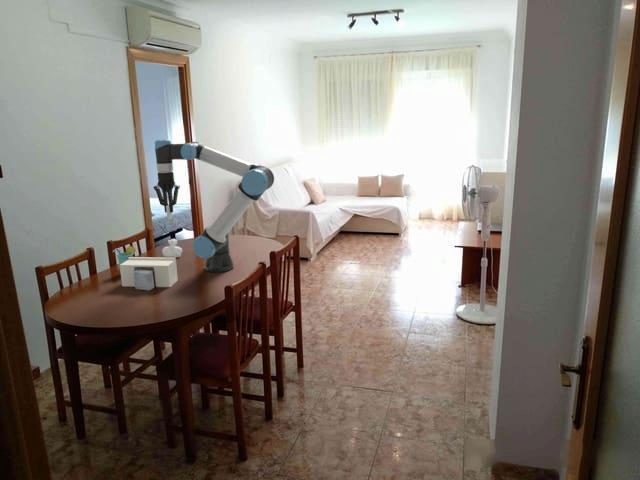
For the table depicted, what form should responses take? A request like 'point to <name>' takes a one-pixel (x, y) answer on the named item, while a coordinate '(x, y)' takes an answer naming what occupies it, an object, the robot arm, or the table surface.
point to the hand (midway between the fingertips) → (169, 218)
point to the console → (161, 270)
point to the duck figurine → (172, 249)
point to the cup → (125, 254)
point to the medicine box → (144, 279)
